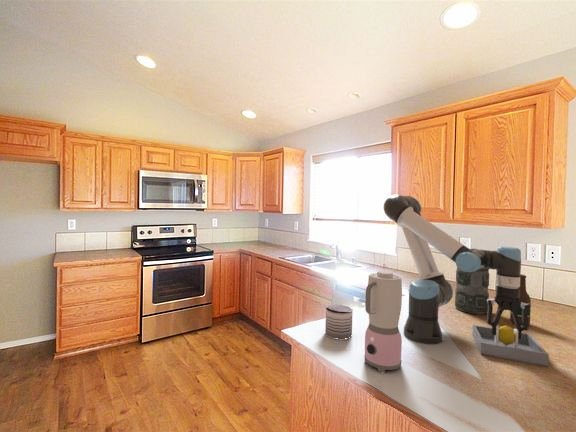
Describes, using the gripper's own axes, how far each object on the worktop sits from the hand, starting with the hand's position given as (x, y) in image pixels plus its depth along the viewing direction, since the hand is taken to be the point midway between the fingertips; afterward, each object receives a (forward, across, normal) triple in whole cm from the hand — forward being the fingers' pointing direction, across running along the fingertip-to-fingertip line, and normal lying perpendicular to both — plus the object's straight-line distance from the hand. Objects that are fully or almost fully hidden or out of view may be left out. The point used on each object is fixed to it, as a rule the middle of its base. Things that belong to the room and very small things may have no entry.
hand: (505, 344), depth 116 cm
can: (+2, -63, -17) cm, 65 cm away
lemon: (+1, 0, 0) cm, 1 cm away
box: (+2, 0, 0) cm, 2 cm away
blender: (+2, -44, -36) cm, 57 cm away
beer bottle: (+2, +14, +38) cm, 41 cm away
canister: (+2, -5, +50) cm, 50 cm away
